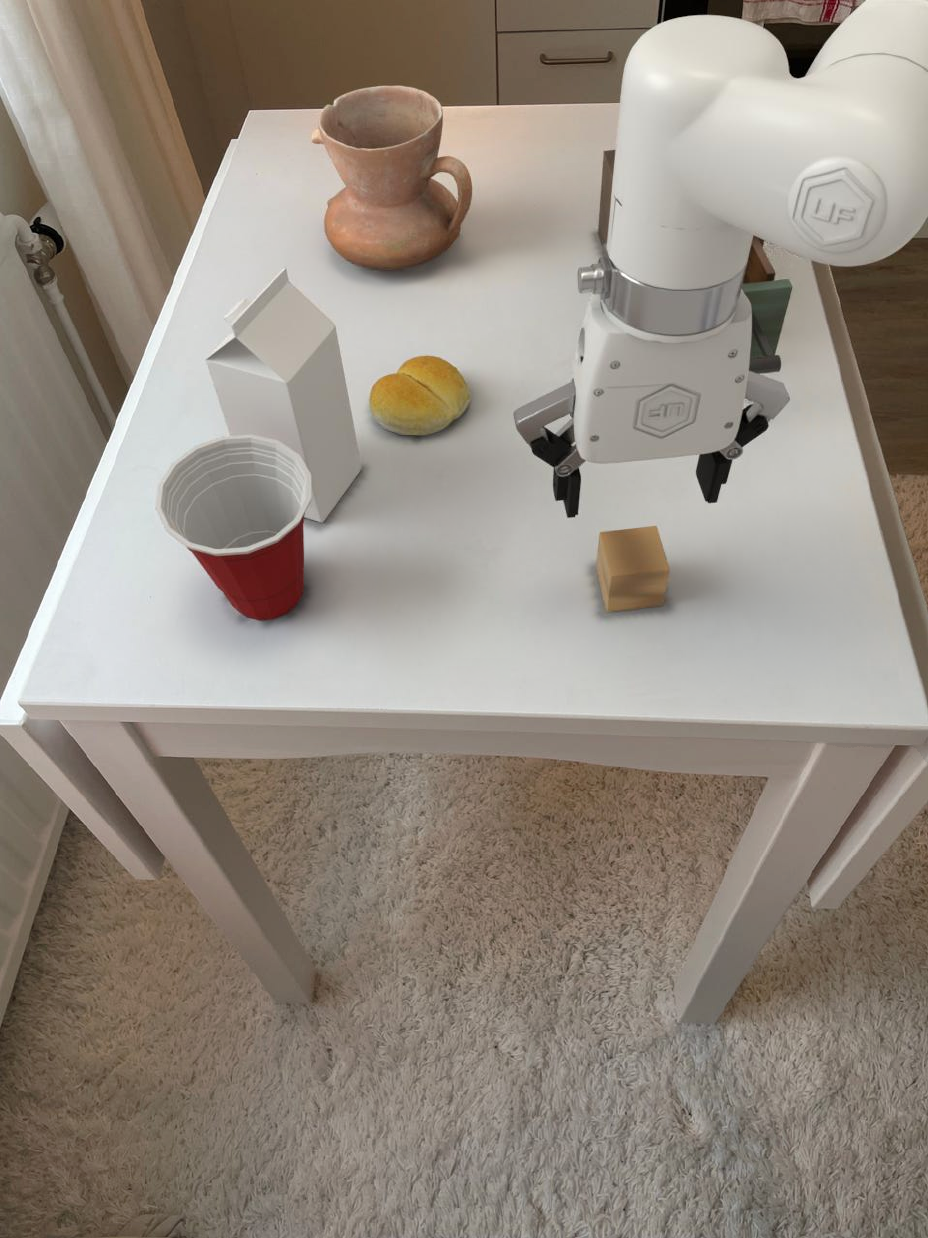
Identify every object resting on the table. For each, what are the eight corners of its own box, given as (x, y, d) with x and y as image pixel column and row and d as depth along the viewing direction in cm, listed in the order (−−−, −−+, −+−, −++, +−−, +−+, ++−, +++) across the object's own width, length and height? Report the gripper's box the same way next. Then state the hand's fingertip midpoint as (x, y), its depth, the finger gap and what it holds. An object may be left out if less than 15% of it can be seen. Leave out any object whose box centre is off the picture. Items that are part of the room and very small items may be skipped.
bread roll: (354, 411, 88) (348, 377, 85) (427, 366, 91) (423, 331, 88) (413, 455, 84) (409, 420, 81) (486, 406, 87) (485, 371, 84)
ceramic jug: (293, 262, 103) (265, 129, 91) (366, 196, 110) (348, 65, 98) (437, 306, 97) (426, 170, 85) (504, 233, 104) (502, 99, 93)
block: (650, 562, 76) (656, 525, 72) (663, 606, 73) (670, 569, 69) (595, 568, 75) (599, 531, 72) (606, 612, 73) (610, 576, 69)
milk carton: (363, 469, 83) (327, 277, 68) (322, 525, 80) (275, 336, 64) (293, 447, 85) (243, 257, 70) (250, 501, 82) (188, 312, 66)
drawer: (799, 406, 84) (820, 338, 78) (672, 420, 84) (683, 352, 78) (735, 271, 96) (749, 202, 91) (623, 282, 96) (630, 215, 90)
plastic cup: (246, 674, 71) (203, 572, 61) (176, 588, 76) (126, 482, 67) (364, 598, 75) (341, 491, 65) (290, 521, 80) (258, 412, 70)
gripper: (525, 337, 50) (521, 549, 64) (849, 306, 50) (775, 523, 64) (506, 254, 54) (506, 469, 68) (804, 227, 55) (744, 445, 69)
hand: (637, 495), depth 66 cm, fingers open, 9 cm apart
